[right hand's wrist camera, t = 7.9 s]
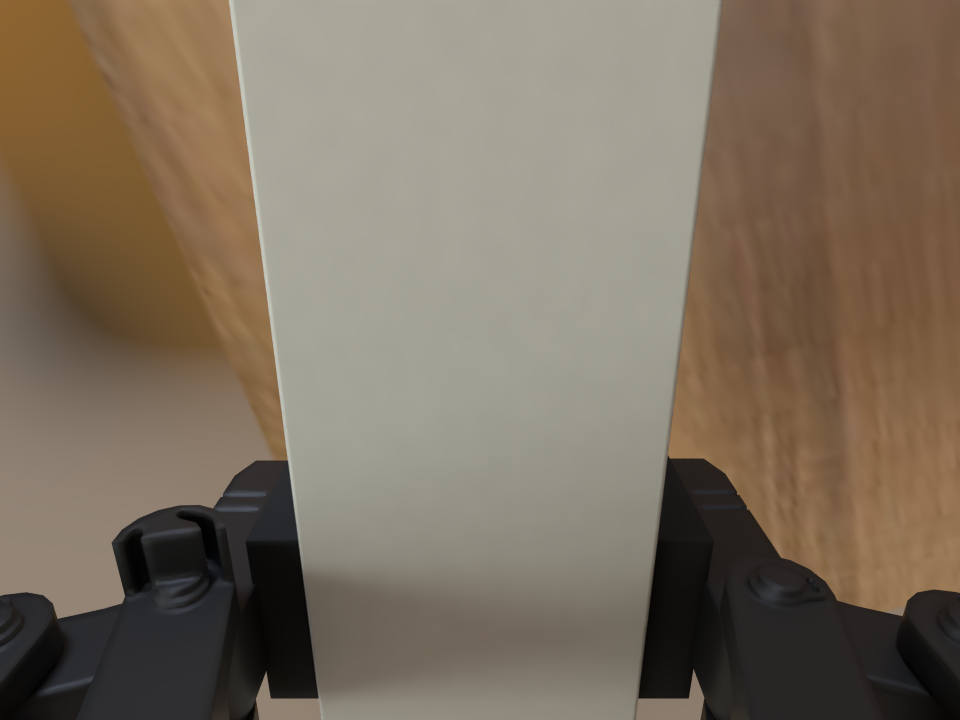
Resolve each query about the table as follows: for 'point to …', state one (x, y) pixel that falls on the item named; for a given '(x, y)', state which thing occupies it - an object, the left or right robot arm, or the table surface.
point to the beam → (477, 333)
